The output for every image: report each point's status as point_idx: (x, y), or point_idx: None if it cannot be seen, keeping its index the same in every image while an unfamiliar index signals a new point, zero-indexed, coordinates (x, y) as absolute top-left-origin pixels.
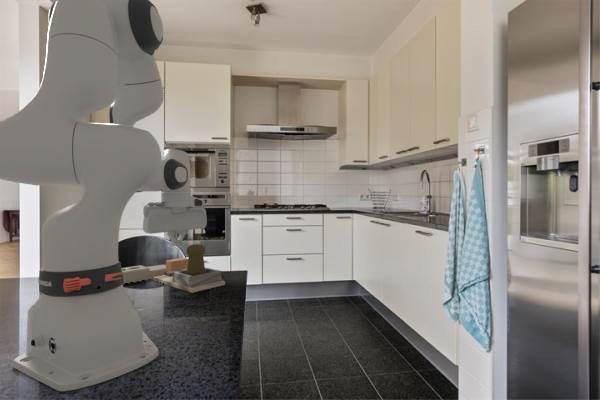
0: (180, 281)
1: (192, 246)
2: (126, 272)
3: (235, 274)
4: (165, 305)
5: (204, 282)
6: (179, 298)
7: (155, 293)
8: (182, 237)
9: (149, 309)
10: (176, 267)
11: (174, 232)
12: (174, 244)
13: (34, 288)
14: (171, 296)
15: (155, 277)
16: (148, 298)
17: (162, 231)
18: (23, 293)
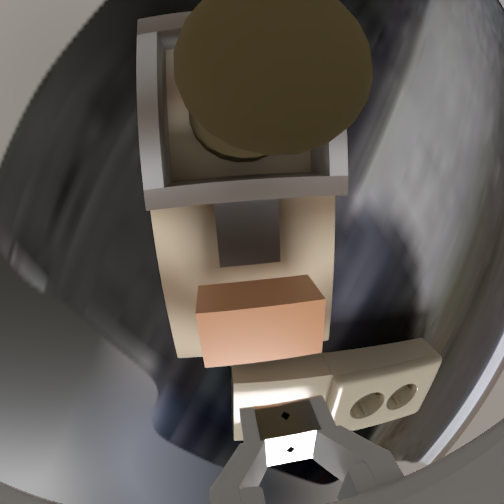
0: None
1: (352, 18)
2: (412, 365)
3: (16, 180)
4: (423, 7)
5: None
6: (376, 16)
7: (409, 135)
8: (246, 456)
9: (454, 22)
10: (280, 285)
11: (360, 484)
12: (320, 399)
13: (473, 394)
14: (387, 54)
15: (325, 330)
16: (439, 102)
17: (499, 428)
18: (495, 367)
